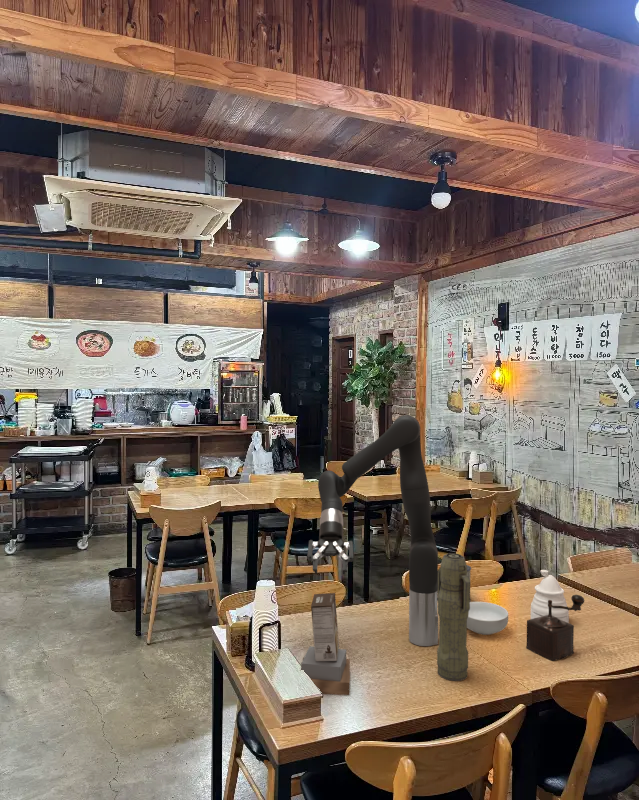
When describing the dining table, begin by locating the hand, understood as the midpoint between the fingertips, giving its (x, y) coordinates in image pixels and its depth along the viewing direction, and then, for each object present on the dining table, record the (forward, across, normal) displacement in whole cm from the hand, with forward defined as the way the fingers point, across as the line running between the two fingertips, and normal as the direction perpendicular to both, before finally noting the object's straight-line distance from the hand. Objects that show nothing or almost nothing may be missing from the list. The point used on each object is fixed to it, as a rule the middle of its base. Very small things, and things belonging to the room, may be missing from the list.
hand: (330, 572), depth 176 cm
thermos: (+23, +36, +17) cm, 46 cm away
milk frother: (-18, +45, +58) cm, 76 cm away
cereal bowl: (0, +52, +40) cm, 66 cm away
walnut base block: (+28, -1, +12) cm, 30 cm away
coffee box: (+22, 0, +7) cm, 23 cm away
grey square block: (+25, -1, +9) cm, 27 cm away
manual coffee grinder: (+10, +72, +30) cm, 79 cm away
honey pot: (-7, +78, +47) cm, 92 cm away
